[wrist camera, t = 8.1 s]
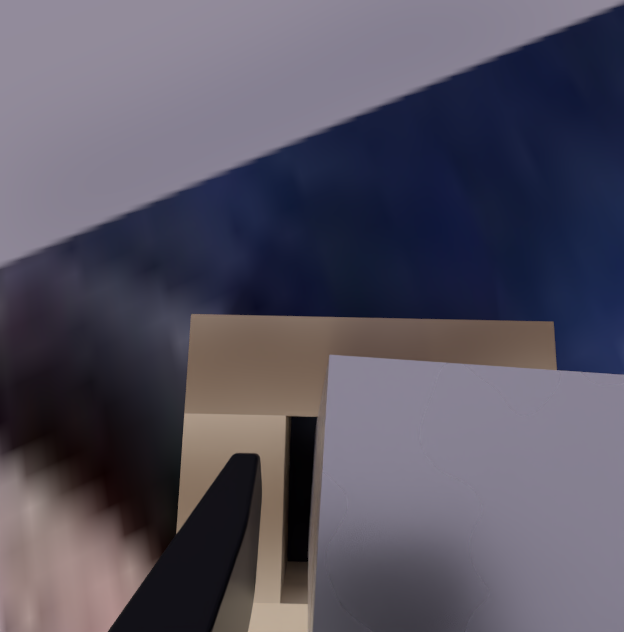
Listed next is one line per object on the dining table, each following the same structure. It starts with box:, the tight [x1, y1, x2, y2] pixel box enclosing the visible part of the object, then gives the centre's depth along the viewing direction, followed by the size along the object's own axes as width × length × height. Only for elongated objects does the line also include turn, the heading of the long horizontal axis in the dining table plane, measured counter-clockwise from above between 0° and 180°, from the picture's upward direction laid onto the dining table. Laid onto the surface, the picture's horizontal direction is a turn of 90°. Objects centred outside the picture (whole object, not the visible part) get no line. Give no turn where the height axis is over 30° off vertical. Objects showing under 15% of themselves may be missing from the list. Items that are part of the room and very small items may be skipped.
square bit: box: [308, 355, 624, 632], centre depth 11 cm, size 3×3×13 cm
